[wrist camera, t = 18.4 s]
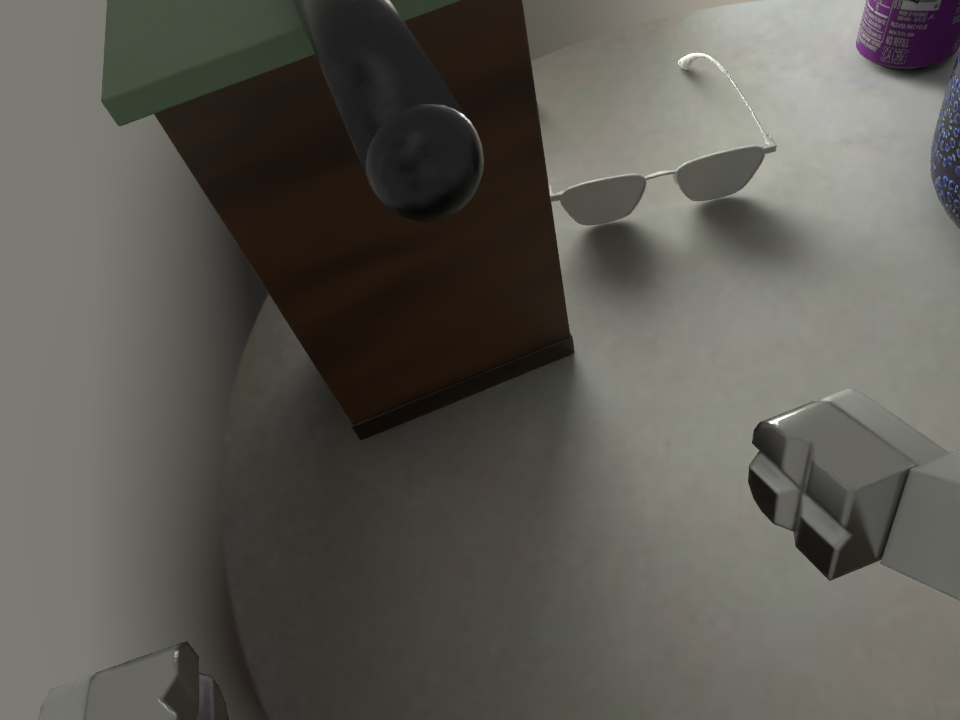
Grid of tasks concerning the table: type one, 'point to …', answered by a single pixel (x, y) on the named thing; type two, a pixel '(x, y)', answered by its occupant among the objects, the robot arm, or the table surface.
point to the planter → (948, 148)
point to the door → (346, 67)
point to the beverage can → (909, 32)
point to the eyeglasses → (694, 177)
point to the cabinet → (393, 225)
